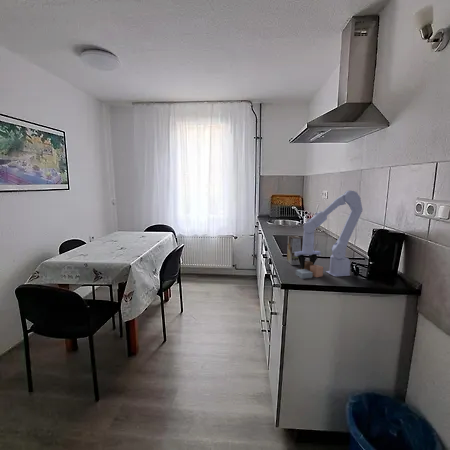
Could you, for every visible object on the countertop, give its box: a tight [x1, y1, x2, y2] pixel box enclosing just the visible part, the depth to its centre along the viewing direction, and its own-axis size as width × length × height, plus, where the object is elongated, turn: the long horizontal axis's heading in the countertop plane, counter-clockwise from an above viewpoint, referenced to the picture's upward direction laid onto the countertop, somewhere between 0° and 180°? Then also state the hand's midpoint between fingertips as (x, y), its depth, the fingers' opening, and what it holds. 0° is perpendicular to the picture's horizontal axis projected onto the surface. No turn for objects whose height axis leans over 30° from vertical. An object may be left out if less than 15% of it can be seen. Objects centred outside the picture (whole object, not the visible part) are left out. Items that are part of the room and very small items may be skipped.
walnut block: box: [300, 260, 313, 271], centre depth 146 cm, size 4×4×5 cm
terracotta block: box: [310, 264, 324, 278], centre depth 139 cm, size 4×4×5 cm
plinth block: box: [295, 268, 313, 279], centre depth 137 cm, size 6×6×3 cm
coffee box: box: [286, 235, 303, 266], centre depth 160 cm, size 9×6×16 cm
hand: (306, 268), depth 146 cm, fingers open, 5 cm apart
